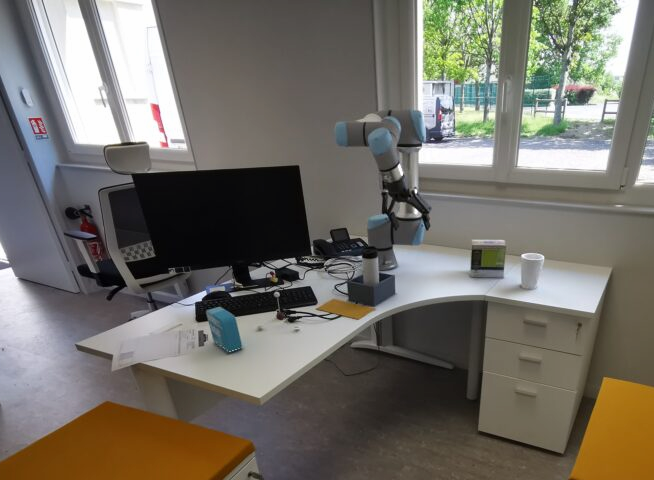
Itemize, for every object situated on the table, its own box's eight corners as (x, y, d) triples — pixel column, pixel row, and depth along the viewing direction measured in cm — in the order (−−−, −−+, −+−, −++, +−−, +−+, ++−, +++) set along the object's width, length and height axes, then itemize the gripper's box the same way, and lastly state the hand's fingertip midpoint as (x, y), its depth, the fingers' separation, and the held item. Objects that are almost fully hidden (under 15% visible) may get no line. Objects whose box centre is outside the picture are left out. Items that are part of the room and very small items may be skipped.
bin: (348, 300, 182) (346, 281, 178) (370, 288, 193) (369, 270, 189) (374, 306, 177) (373, 287, 172) (395, 293, 188) (394, 275, 184)
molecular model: (290, 315, 170) (284, 283, 163) (300, 331, 158) (295, 297, 152) (253, 322, 164) (246, 289, 158) (261, 338, 153) (254, 304, 146)
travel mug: (382, 295, 187) (380, 246, 176) (376, 301, 181) (373, 251, 171) (368, 293, 188) (365, 245, 178) (361, 299, 183) (358, 249, 172)
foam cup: (541, 284, 197) (546, 254, 190) (537, 291, 190) (541, 261, 183) (520, 281, 200) (524, 252, 193) (515, 288, 193) (518, 258, 186)
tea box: (502, 271, 212) (505, 239, 204) (503, 278, 204) (506, 245, 196) (469, 270, 213) (471, 238, 205) (469, 277, 205) (471, 244, 197)
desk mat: (315, 309, 174) (315, 308, 174) (333, 299, 183) (333, 298, 182) (358, 319, 166) (358, 318, 166) (375, 309, 174) (374, 308, 174)
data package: (213, 342, 151) (204, 309, 144) (226, 338, 154) (218, 305, 147) (230, 355, 144) (221, 320, 137) (243, 350, 146) (235, 315, 140)
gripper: (359, 185, 160) (381, 234, 176) (421, 182, 149) (438, 235, 165) (368, 172, 163) (389, 221, 180) (429, 168, 152) (445, 221, 168)
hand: (412, 228), depth 172 cm, fingers open, 13 cm apart
